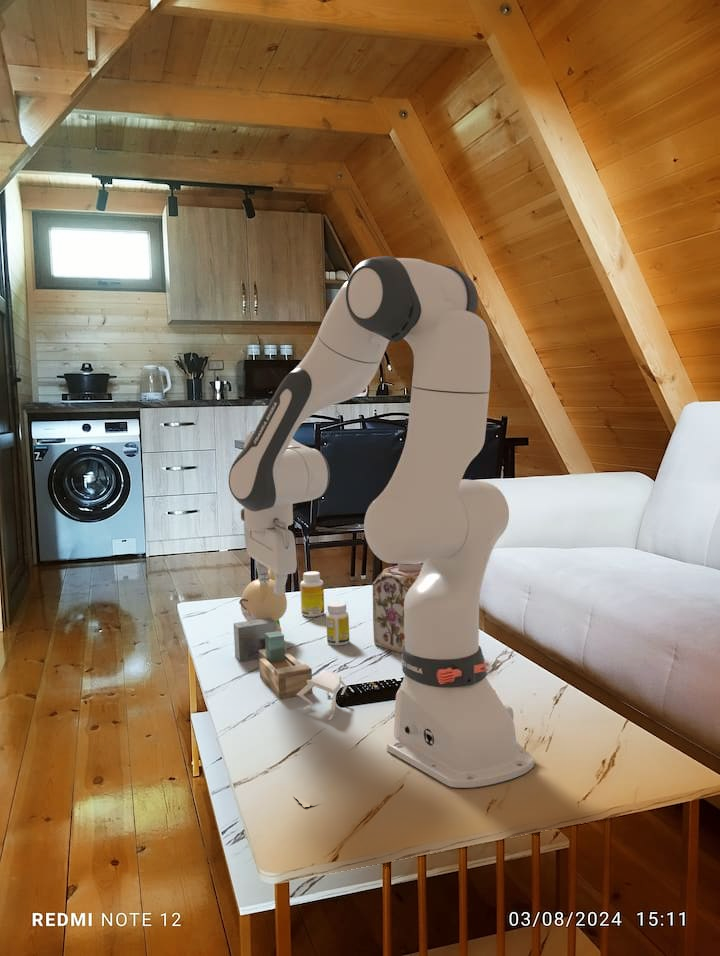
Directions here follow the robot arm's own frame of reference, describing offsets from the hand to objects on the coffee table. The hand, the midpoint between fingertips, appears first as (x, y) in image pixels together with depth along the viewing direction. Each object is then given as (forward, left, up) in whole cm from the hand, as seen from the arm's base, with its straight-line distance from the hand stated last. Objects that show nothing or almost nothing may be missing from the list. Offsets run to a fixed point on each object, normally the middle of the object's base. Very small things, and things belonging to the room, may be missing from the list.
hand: (271, 588), depth 146 cm
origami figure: (-20, -3, -17) cm, 26 cm away
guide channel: (-6, 0, -17) cm, 18 cm away
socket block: (+12, 0, -17) cm, 21 cm away
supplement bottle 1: (+35, -21, -17) cm, 44 cm away
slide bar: (-2, 0, -16) cm, 16 cm away
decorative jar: (+3, -31, -17) cm, 36 cm away
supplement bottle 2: (+12, -18, -17) cm, 28 cm away
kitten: (+22, -5, -17) cm, 29 cm away
